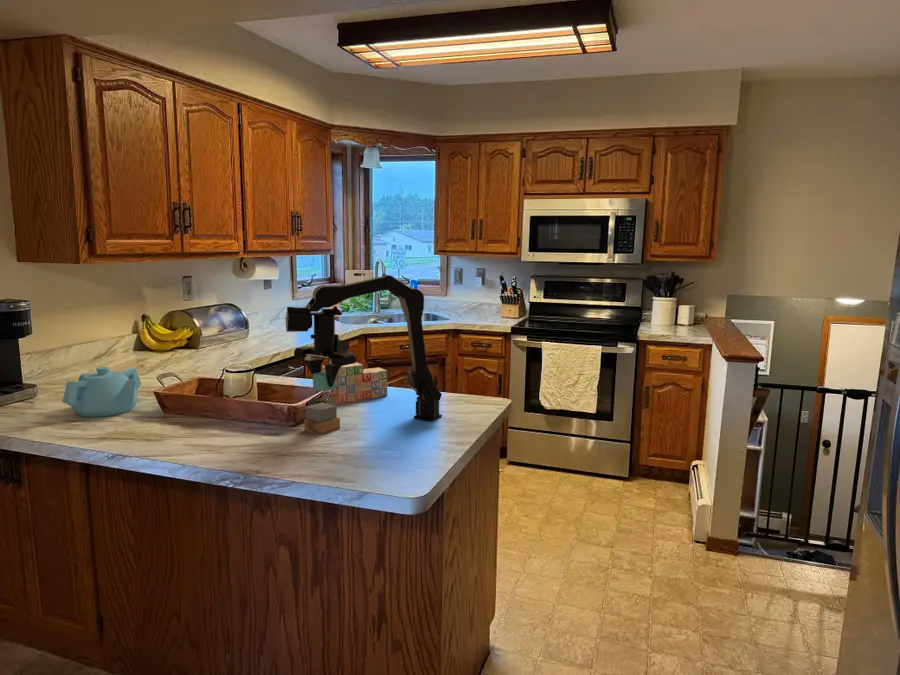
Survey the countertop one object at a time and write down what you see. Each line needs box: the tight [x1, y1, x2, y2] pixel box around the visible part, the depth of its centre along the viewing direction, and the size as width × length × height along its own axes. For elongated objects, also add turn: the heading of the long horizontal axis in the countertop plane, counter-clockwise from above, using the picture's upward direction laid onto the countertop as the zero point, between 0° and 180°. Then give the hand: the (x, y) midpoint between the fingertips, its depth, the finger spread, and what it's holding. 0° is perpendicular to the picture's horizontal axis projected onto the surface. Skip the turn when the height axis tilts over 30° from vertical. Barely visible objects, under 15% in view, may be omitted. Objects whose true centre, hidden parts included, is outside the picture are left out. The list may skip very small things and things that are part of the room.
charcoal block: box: [305, 401, 338, 423], centre depth 165 cm, size 6×6×4 cm
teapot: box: [62, 366, 142, 418], centre depth 182 cm, size 19×19×14 cm
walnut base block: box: [303, 416, 341, 436], centre depth 166 cm, size 7×7×4 cm
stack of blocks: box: [321, 361, 388, 405], centre depth 198 cm, size 21×6×12 cm, turn 123°
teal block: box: [312, 371, 336, 393], centre depth 165 cm, size 4×4×4 cm
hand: (324, 385), depth 165 cm, fingers closed on teal block, 4 cm apart
